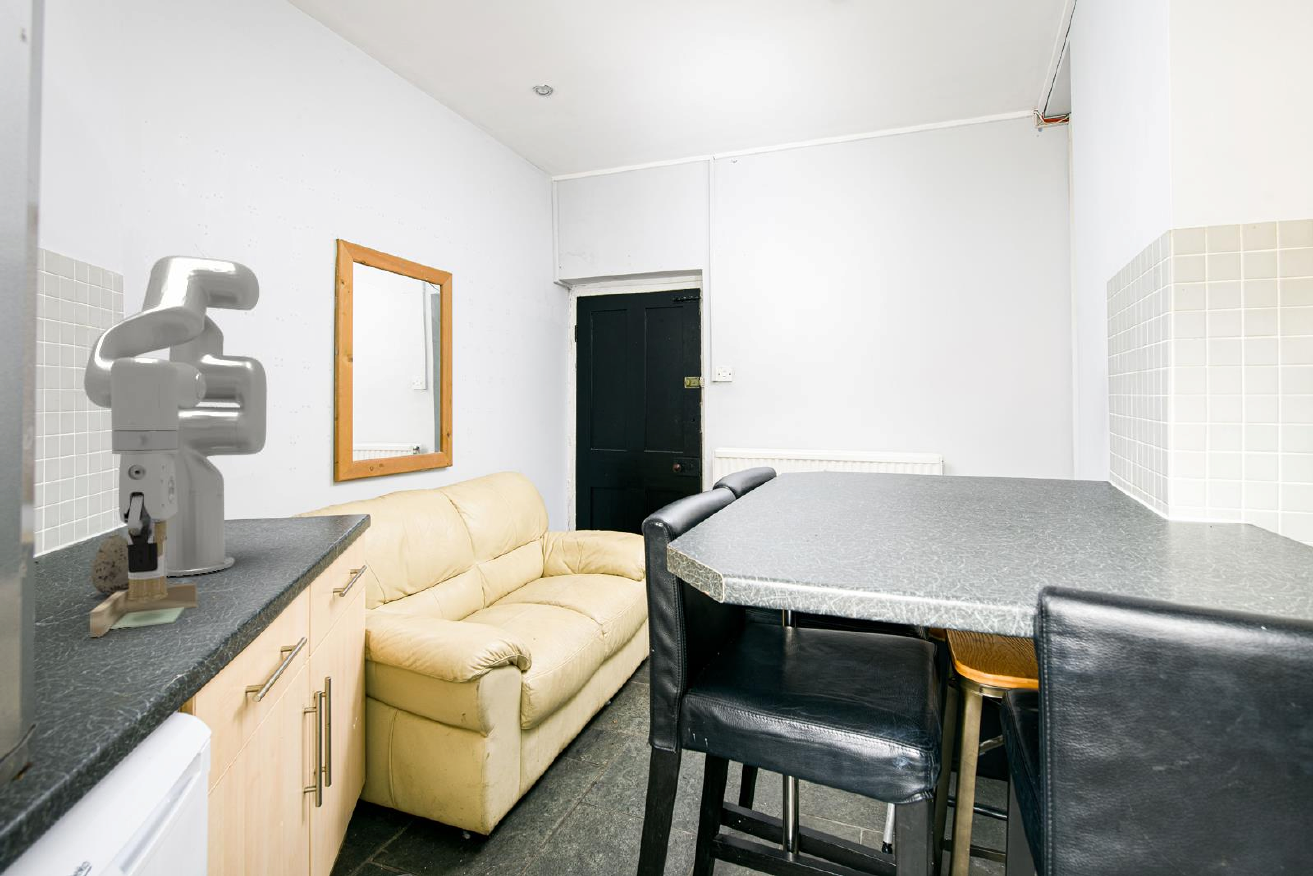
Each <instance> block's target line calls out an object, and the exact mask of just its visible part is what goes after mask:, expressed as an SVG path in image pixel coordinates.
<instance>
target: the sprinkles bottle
mask: <svg viewBox="0 0 1313 876" xmlns="http://www.w3.org/2000/svg"><path fill="white" fill-rule="evenodd" d="M129 510H130V509H129ZM129 510H128V516H127V517H129ZM145 521H150V517H146V518H142V522H145ZM143 527H146V528H147V529H148V527H149V526H143ZM154 543H158V569H157V570H155V571H149V572H137V573H130V572H129V571H128V578H129V597H128V600H129V601H130V602H150V601H155V600H159V599H162V598H164V597H166V596H167V594H168V592H167V586H168V585H167V584H168V583H167V582H168V581H167V580H168V579H167V578H168V577H167V540H166V520H165V521H163V522H159V521H158V520H157V519H156V522H155V541H154Z"/></svg>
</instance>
